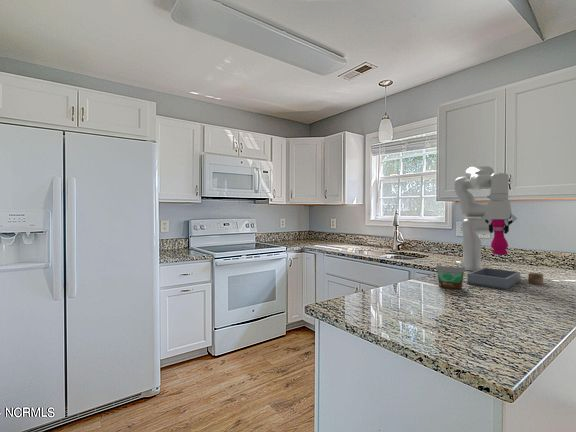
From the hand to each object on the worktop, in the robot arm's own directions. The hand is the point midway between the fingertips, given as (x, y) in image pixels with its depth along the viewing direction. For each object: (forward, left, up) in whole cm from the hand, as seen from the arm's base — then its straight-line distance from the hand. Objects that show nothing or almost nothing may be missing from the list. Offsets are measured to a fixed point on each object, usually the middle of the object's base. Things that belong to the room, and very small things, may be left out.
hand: (498, 232), depth 156 cm
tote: (0, -6, -25) cm, 26 cm away
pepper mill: (+1, 0, -11) cm, 11 cm away
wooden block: (+14, +9, -25) cm, 30 cm away
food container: (-10, -35, -25) cm, 45 cm away
